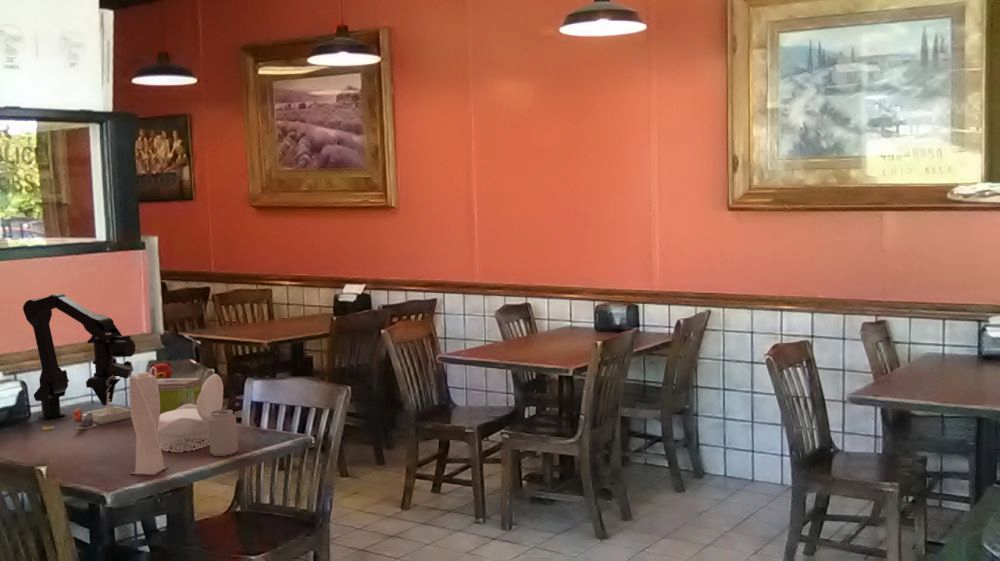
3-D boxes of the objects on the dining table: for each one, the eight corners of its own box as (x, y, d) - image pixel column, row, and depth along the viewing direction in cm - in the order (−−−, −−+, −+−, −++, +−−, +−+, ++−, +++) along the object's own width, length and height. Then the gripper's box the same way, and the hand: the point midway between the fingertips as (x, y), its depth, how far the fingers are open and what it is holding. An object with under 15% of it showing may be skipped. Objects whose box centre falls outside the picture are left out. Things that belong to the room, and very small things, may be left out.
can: (242, 450, 292) (239, 408, 291) (232, 457, 285) (229, 414, 283) (216, 450, 293) (213, 408, 292) (206, 457, 285) (203, 414, 284)
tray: (85, 419, 339) (85, 412, 339) (116, 413, 347) (115, 406, 347) (100, 424, 332) (100, 416, 332) (132, 417, 340) (131, 410, 339)
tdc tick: (53, 428, 328) (53, 425, 328) (52, 429, 327) (52, 426, 327) (43, 429, 328) (43, 426, 328) (42, 430, 327) (42, 427, 327)
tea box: (205, 423, 328) (202, 376, 326) (190, 431, 318) (187, 383, 316) (161, 423, 330) (157, 377, 329) (145, 431, 320) (141, 383, 319)
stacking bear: (144, 422, 332) (140, 367, 331) (148, 415, 342) (145, 361, 341) (180, 419, 335) (176, 364, 333) (183, 412, 345) (179, 359, 343)
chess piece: (102, 416, 341) (100, 386, 340) (118, 415, 342) (115, 385, 341) (98, 419, 337) (96, 389, 336) (114, 418, 337) (112, 388, 336)
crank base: (71, 427, 329) (71, 426, 329) (91, 423, 333) (91, 422, 333) (80, 430, 324) (80, 429, 324) (100, 426, 329) (100, 425, 329)
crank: (80, 423, 331) (78, 403, 330) (94, 422, 331) (93, 402, 330) (69, 432, 318) (67, 411, 318) (84, 432, 319) (82, 410, 318)
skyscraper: (173, 468, 276) (165, 364, 273) (157, 477, 268) (149, 369, 265) (144, 467, 278) (136, 364, 275) (127, 476, 270) (119, 369, 267)
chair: (159, 439, 308) (154, 373, 306) (228, 434, 312) (224, 368, 310) (151, 457, 289) (146, 386, 287) (225, 450, 293) (220, 380, 291)
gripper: (119, 360, 328) (123, 408, 330) (138, 350, 347) (141, 396, 348) (83, 361, 328) (87, 410, 330) (104, 352, 347) (107, 398, 348)
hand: (107, 403), depth 339 cm, fingers open, 5 cm apart
